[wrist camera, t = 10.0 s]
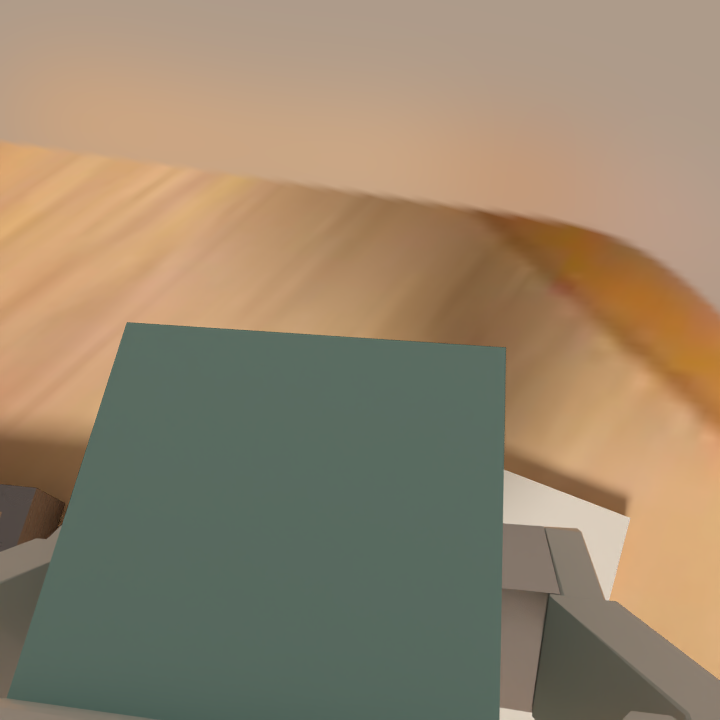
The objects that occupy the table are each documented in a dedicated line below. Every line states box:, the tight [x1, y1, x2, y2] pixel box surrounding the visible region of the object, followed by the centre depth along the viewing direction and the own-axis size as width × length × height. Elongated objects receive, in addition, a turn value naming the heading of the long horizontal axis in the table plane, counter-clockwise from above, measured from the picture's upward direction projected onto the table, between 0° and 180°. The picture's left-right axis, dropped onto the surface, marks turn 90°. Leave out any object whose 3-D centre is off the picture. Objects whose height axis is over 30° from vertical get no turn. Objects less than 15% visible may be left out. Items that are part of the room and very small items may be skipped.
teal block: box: [7, 322, 506, 720], centre depth 10 cm, size 4×4×9 cm
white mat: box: [500, 470, 630, 720], centre depth 18 cm, size 12×12×1 cm
